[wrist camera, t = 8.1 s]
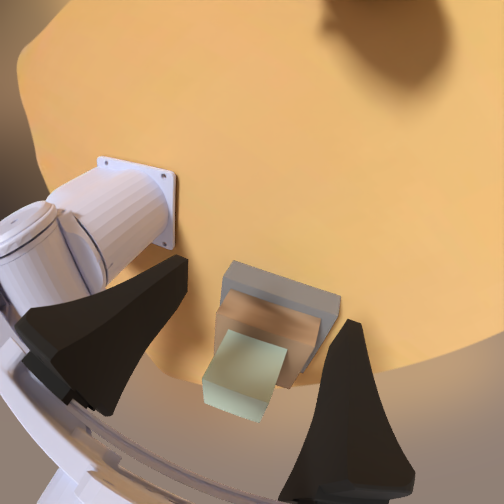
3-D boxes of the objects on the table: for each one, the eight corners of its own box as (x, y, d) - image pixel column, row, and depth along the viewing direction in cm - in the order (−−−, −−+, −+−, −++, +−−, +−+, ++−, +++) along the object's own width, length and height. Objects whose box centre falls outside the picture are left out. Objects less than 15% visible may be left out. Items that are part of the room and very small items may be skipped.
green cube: (226, 359, 25) (204, 402, 21) (228, 329, 22) (201, 378, 18) (276, 377, 24) (259, 422, 20) (287, 349, 21) (268, 403, 17)
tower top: (224, 340, 28) (213, 362, 26) (230, 288, 23) (216, 312, 21) (296, 365, 27) (289, 389, 24) (321, 318, 22) (314, 346, 20)
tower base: (226, 323, 31) (216, 342, 29) (236, 256, 25) (223, 276, 23) (308, 351, 30) (303, 373, 27) (341, 291, 24) (338, 315, 21)
